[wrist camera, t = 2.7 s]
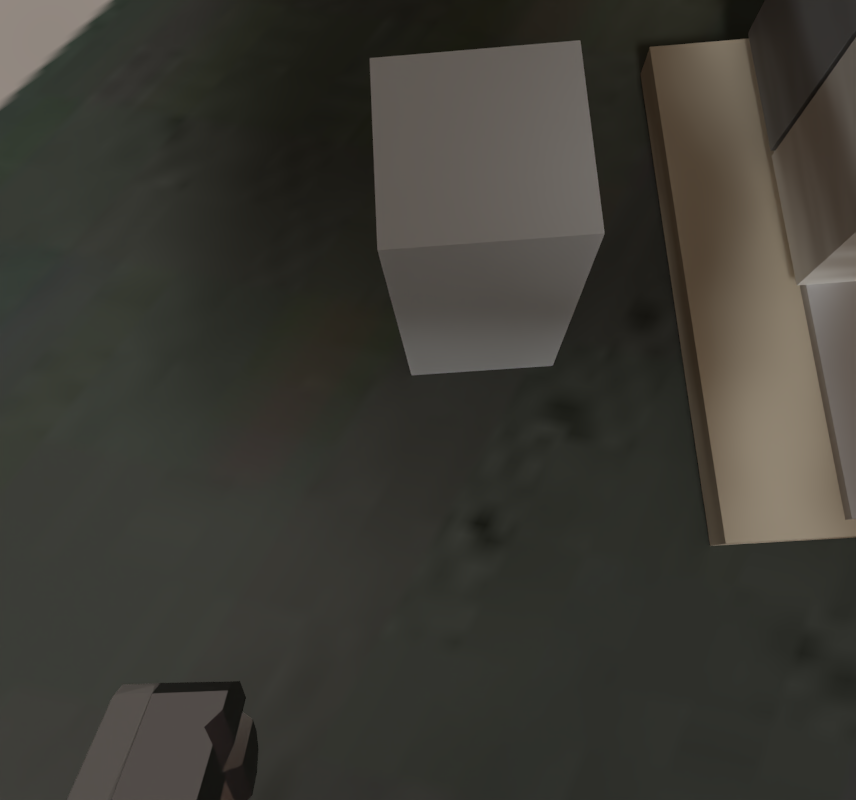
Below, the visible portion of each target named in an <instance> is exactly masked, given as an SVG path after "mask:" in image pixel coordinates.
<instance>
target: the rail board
mask: <svg viewBox="0 0 856 800" xmlns="http://www.w3.org/2000/svg"><path fill="white" fill-rule="evenodd" d="M748 37H749V39H737V40H725V41H714V42H702V43H690V44H679V45H667V46H655V47H650V48H649V51H648V54H647V57H646V60H645V62H644V65H643V68H642V71H641V74H640V75H641V82H642V89H643V95H644V102H645V109H646V116H647V122H648V129H649V136H650V143H651V150H652V156H653V163H654V170H655V177H656V183H657V190H658V197H659V204H660V210H661V217H662V224H663V231H664V237H665V244H666V251H667V258H668V264H669V271H670V278H671V285H672V292H673V298H674V305H675V312H676V319H677V325H678V332H679V339H680V346H681V352H682V359H683V366H684V373H685V379H686V386H687V393H688V400H689V406H690V413H691V420H692V427H693V434H694V440H695V447H696V454H697V461H698V467H699V474H700V481H701V488H702V494H703V501H704V508H705V515H706V521H707V528H708V535H709V542H710V546H715V545H733V544H750V543H768V542H785V541H802V540H820V539H837V538H854V537H856V0H765V1H764V3H763V4H762V6H761V8H760V10H759V12H758V14H757V16H756V18H755V20H754V22H753V24H752V26H751V28H750V30H749V32H748Z"/></svg>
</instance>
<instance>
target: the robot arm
mask: <svg viewBox="0 0 856 800" xmlns="http://www.w3.org/2000/svg"><path fill="white" fill-rule="evenodd" d="M245 699H246V697H245V694H244V691H243V689H242V686H241V683H240V681H233V682H187V683H149V684H125V685H122V686H121V687H120V688H119V690H118V691H117V692H116V693H115V694H114V695H113V697H112V698H111V701H110V703H109V705H108V707H107V710H106V712H105V714H104V716H103V719H102V721H101V723H100V725H99V728H98V730H97V732H96V734H95V737H94V739H93V741H92V744H91V746H90V748H89V750H88V753H87V755H86V757H85V759H84V762H83V764H82V766H81V768H80V771H79V773H78V775H77V777H76V780H75V782H74V784H73V787H72V789H71V791H70V793H69V796H68V798H67V800H248V799H249V798H250V797H251V796H252V794H253V789H254V784H255V779H256V774H257V761H258V741H257V732H256V728H255V725H254V722H253V719H252V718H250V717H249V716H247V715H246V714H244V713H243V712H242V711H243V707H244V703H245Z"/></svg>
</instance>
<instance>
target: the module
mask: <svg viewBox="0 0 856 800" xmlns="http://www.w3.org/2000/svg"><path fill="white" fill-rule="evenodd" d="M370 81H371V106H372V130H373V155H374V179H375V204H376V229H377V251H378V254H379V258H380V262H381V265H382V269H383V273H384V276H385V280H386V284H387V287H388V291H389V295H390V298H391V302H392V306H393V309H394V313H395V317H396V320H397V324H398V328H399V331H400V335H401V339H402V342H403V346H404V350H405V353H406V357H407V361H408V364H409V368H410V372H411V375H424V374H439V373H454V372H468V371H483V370H498V369H513V368H528V367H543V366H553V364H554V361H555V359H556V356H557V354H558V351H559V349H560V346H561V343H562V341H563V338H564V336H565V333H566V331H567V328H568V326H569V323H570V321H571V318H572V315H573V313H574V310H575V308H576V305H577V303H578V300H579V298H580V295H581V293H582V290H583V287H584V285H585V282H586V280H587V277H588V275H589V272H590V270H591V267H592V264H593V262H594V259H595V257H596V254H597V252H598V249H599V247H600V244H601V242H602V239H603V236H604V234H605V232H604V224H603V216H602V208H601V200H600V192H599V184H598V176H597V168H596V161H595V153H594V145H593V137H592V129H591V121H590V113H589V105H588V97H587V89H586V81H585V73H584V65H583V57H582V49H581V41H580V40H578V41H566V42H554V43H543V44H531V45H519V46H507V47H495V48H483V49H472V50H460V51H448V52H436V53H424V54H413V55H401V56H389V57H377V58H370Z"/></svg>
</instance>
